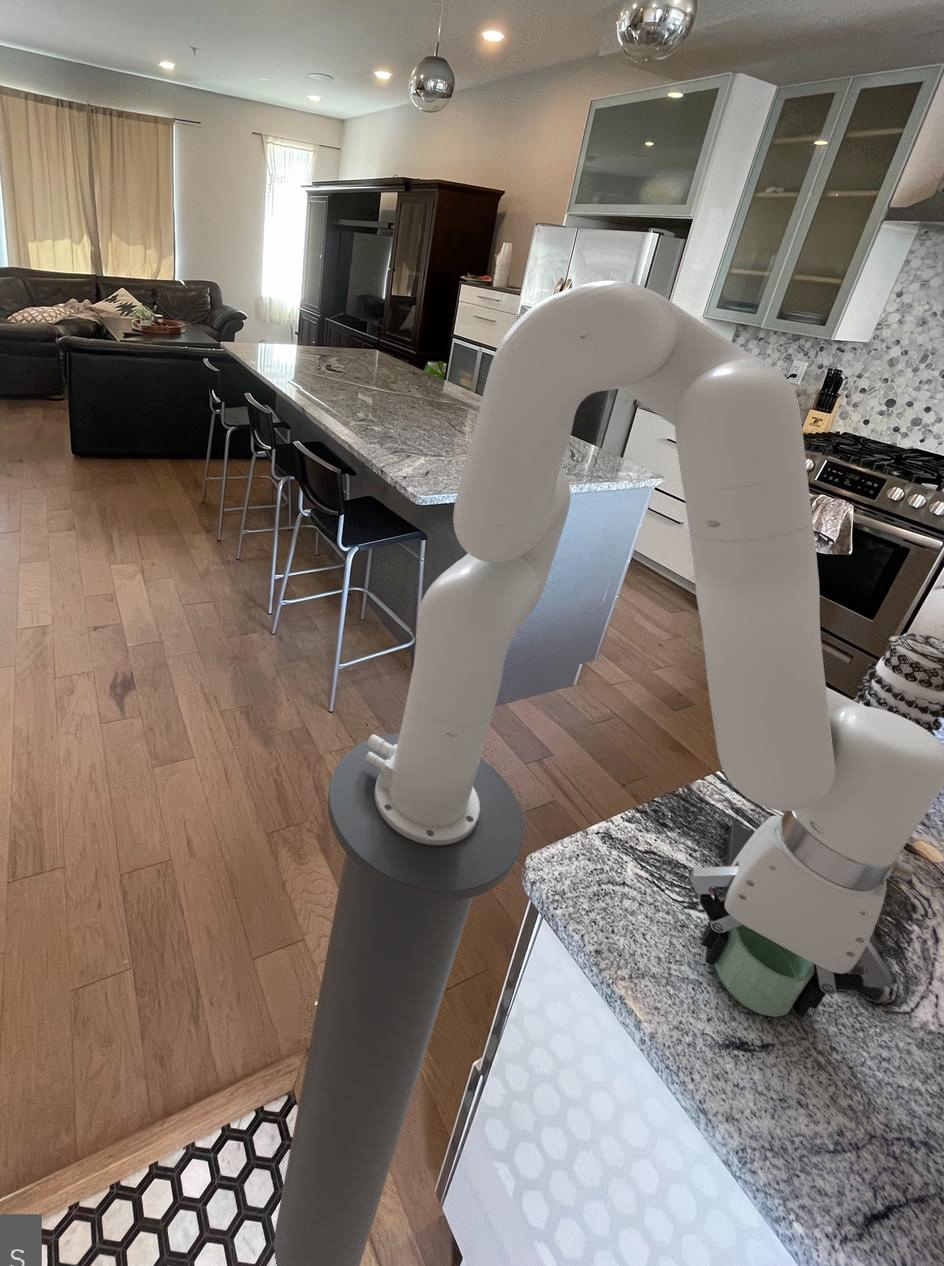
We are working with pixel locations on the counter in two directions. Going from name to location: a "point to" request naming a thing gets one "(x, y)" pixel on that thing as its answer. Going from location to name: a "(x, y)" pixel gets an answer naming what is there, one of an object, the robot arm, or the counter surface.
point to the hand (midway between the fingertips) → (752, 975)
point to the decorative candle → (908, 680)
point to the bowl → (762, 972)
